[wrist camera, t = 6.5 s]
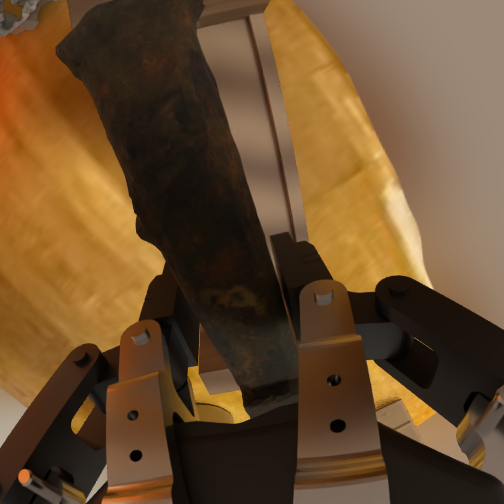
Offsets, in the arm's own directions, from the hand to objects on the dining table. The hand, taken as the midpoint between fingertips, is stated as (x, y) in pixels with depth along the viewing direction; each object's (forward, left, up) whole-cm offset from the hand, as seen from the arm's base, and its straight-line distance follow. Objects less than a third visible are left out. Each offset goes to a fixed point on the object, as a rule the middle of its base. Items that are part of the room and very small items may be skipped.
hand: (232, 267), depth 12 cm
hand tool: (0, -1, -1) cm, 1 cm away
